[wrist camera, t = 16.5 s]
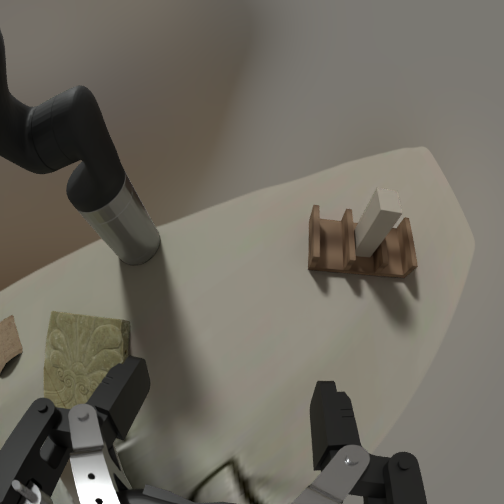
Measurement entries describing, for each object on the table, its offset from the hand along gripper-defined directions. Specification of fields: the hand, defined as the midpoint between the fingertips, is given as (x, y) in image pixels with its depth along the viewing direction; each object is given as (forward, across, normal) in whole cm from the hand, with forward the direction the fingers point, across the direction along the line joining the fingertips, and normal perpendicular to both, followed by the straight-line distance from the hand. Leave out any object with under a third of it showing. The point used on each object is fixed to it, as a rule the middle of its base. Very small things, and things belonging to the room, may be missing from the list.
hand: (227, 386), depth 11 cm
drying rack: (+38, -18, +4) cm, 43 cm away
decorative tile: (+19, +29, +25) cm, 42 cm away
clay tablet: (+17, +56, +27) cm, 64 cm away
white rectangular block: (+38, -18, +3) cm, 42 cm away
